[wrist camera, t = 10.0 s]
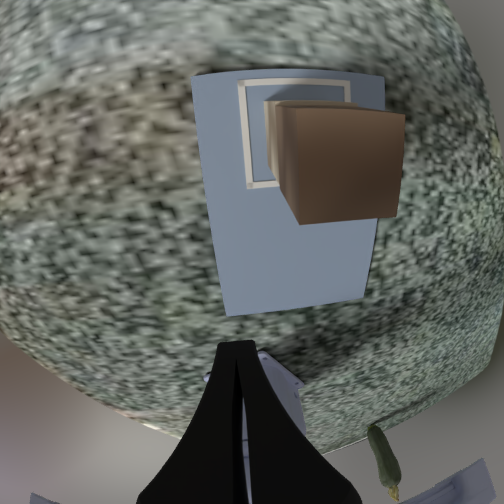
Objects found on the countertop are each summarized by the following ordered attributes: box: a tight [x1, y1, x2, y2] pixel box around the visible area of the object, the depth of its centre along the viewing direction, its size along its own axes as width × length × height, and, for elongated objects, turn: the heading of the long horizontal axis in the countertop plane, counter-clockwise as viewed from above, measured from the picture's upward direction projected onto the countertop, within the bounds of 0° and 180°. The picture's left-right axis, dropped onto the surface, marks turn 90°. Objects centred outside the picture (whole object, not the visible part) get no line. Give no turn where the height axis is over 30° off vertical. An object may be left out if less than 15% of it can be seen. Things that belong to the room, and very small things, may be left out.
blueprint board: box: [191, 69, 385, 316], centre depth 18 cm, size 18×12×1 cm, turn 4°
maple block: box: [264, 100, 358, 185], centre depth 13 cm, size 4×4×4 cm
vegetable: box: [367, 424, 401, 501], centre depth 36 cm, size 4×4×20 cm
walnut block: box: [275, 105, 405, 225], centre depth 10 cm, size 4×4×4 cm
